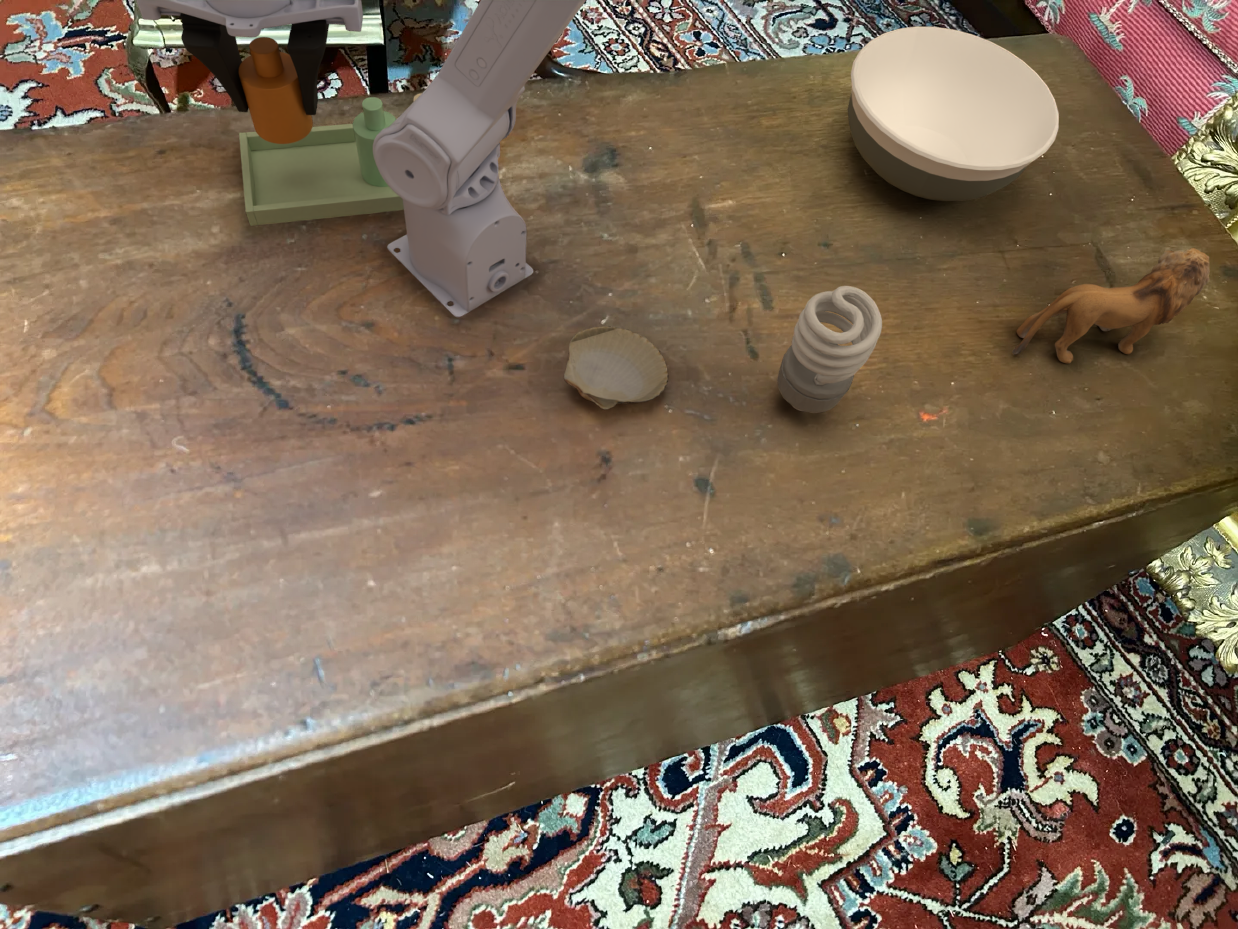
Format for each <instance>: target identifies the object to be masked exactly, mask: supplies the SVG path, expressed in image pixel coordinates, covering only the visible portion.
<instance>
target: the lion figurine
mask: <svg viewBox="0 0 1238 929" xmlns="http://www.w3.org/2000/svg"><path fill="white" fill-rule="evenodd" d="M1157 261H1158V262H1157V264H1156V265H1154V266H1153V267H1152V269H1151V272H1148V273H1147V274H1145V275H1144V276H1143V277H1142V278H1141V279H1140V280H1139V281H1138V282H1137V283H1135V284H1133V285H1130V286H1129V285H1128V286H1114V287H1111V288H1110V287H1109V288H1108V287H1103V286H1100V285H1097V284H1092V283H1081V284H1077V285H1075V286H1072V287H1070V288H1067V289H1066V290H1065V291H1063V292H1062V293H1061V294H1060V295H1059V296H1057V297H1056V298H1055V299H1054V300H1053V301H1052V302H1051V303H1049V304H1048V305H1047V306H1046V307H1044V308H1043V309H1042V310H1040V311H1039V312H1037V313H1034V314H1032V315H1029V316H1028V317H1026V319H1025V320H1024V321H1023V322H1022V323H1021V325H1020V326H1018V328H1016V334H1017V336H1018V337H1019V338H1022V341H1021V342H1019V344H1017V345H1016V346H1014V348H1013V349H1012V353H1011V354H1013V355H1014V356H1016V355H1020V354H1021V353H1022V352H1023V351H1024V350H1026V348H1027V347H1028V345H1029V343H1030V342H1031V340H1032V339H1033V337H1034V336H1035V334H1036V333H1037V332H1038V331H1039V329H1040V328H1042V326H1043V325H1044V324H1046V322H1048V320H1049V319H1052V318H1054V317H1057V316H1060V315H1063V314H1066V316H1065V323H1064V330H1063V334H1062V336H1060V338H1059V339H1057V341H1055V343H1054V347H1055V351H1056V357H1057V359H1058V360H1059V362H1061V363H1063V364H1071V363H1072V361H1074V355H1073V353H1072V351H1071V350H1069V349H1068V348H1069V346H1070V345H1072V344H1074V343H1075V342H1076V341H1077V340H1079V339H1080V338H1081V337H1083V336H1084V335H1086V334H1087V332H1088V331H1089V330H1090V329H1091V327H1092V326H1094V325H1095V326H1098V327H1099V329H1100V330H1101V331H1103V332H1108V331H1111V330H1114V329H1115V330H1116V329H1121V328H1125V327H1126V328H1127V327H1130V326H1131V329H1130V331H1129V332H1128V334H1127V335H1125V336H1124V337H1123V338H1121V340H1120V341H1119V342H1118V345H1117V346H1118V348H1117V349H1118V350H1119V351H1120V352H1121V353H1123V354H1124V355H1130V354H1131V353H1133V351H1134V344H1135V343H1136V342H1138V341H1139V340H1141V339H1142V338H1144V337H1145V336H1146V335H1148V334H1149V332H1150V331H1151V329H1152V328H1153V326H1159V325H1161V324H1163V325H1164V324H1168V323H1170V322H1171V321H1172V320H1173V319H1174V318H1175V317H1176V316H1178V315H1180V314H1181V313H1182V312H1183V311H1184V310H1185V309H1186V308H1187V307H1188V306H1189V305H1190V304H1191V303H1192V301H1193V299H1194V298H1195V297H1196V296H1198V295H1199V294H1200V293H1201V292H1202V291H1203V289H1204V287H1205V286H1206V285H1207V284H1208V283H1209V282H1210V276H1209V275H1210V272H1211V269H1210V266H1211V263H1210V256H1209V255H1207V254H1206V253H1205V252H1203V251H1202V252H1201V251H1200V250H1198V249H1196V248H1195V247H1190V248H1188V249H1185V250H1184V251H1181V250H1176V251H1173V250H1171V249H1170V250H1169V249H1167V250H1164V251H1163V253H1162V254H1161V255H1160V256H1159V258H1158V260H1157Z"/></svg>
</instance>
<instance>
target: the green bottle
mask: <svg viewBox="0 0 1238 929" xmlns="http://www.w3.org/2000/svg"><path fill="white" fill-rule="evenodd" d="M361 107H362V108H361V109H362V112H360V113H359V114H357V115H356V116H355V118H354V119H353V120H352V124H353V131H354V137H355V142H356V148H357V154H358V159H359V165H360V170H361V175H362V177H363V179H364V180H365V181H366V182H367V183H369V184H371V185H373V186H377V187H388V184H387V183H386V182H385V180H384V179H383V177H382V176H381V174H380V172H379V170H378V167H377V165H376V163H375V160H374V156H373V142H374V140H375V138H376V136H377V135H378V134H379V133H380V132H381V131H382V130H383V129H384V128H387V127H389V126H390V125H391V124H392V123H393V122H394V121H395V120H396V119H397V118H396V117H395V115H394V114H392V113H390V112H389V111H386V110H385V109H384V103H383V101H382V100H381V99H380V98H379V97H374V96H369V97H366V98H364V99H363V100H362V102H361Z"/></svg>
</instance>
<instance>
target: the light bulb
mask: <svg viewBox="0 0 1238 929" xmlns="http://www.w3.org/2000/svg"><path fill="white" fill-rule="evenodd" d="M804 306H805V307H804V308H803V309H802V310H801V312H800V313H799V315H798V320H797V321H796V323H795V325H794V328H793V335H792V337H791V345H790V346H789V347H788V348H787V350H786V352H785V353H784V354H783V357H782V360H781V364H780V365H779V366H780V367H779V369H778V373H777V378H776V380H777V388H778V390H779V392H780V394H781V396H782V398H783V399H784V400H785V401H786V402H787V403H788V404H790V405H791V406H792V407H793V408H794V409H796V410H797V411H801V412H805V413H811V414H818V413H824V412H829V411H830V410H832V409H833V408H835V407H836V406H837V405H838V404H839V403H840V402H841V400H842V399H843V398H844V396H845V395H846V394H847V392H848V391H849V390H850V388H851V386H852V384H853V382H854V378H855V374H856V373H857V372H859V370H860V369H861V368H862V367H863V366H864V365H865V364H866V363H867V362H868V361H869V359H870V357H871V355H872V353H873V352H874V350H875V349H876V346H877V343H878V340H879V338H880V336H881V333H882V330H883V319H882V315H881V312H880V309H879V307H878V305H877V303H876V302H875V300H874V299H873V298H872V297H871V296H870V295H869V294H868V293H867V292H865V291H864V290H862V289H860V288H859V287H855V286H852V285H851V286H850V285H842V286H841V285H840V286H838V287H837V288H835V289H834V290H828V291H827V290H826V291H821V292H819V293H816V294H814V295H813V296H811V297H810V298H809V300H807V302H806V304H805V305H804ZM823 323H825V324H829V325H832V326H834V327H836V328H837V329H839V330H841V331H842V332H838V331H834V330H832V329H830V328H829V327H826V325H824V324H823ZM849 343H851V345H845V344H849Z"/></svg>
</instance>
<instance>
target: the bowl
mask: <svg viewBox="0 0 1238 929" xmlns="http://www.w3.org/2000/svg"><path fill="white" fill-rule="evenodd" d="M850 79H851V80H850V81H851V92H850V95H849V100H848V104H847V110H846V111H847V120H848V125H849V130H850V135H851V138H852V140H853V143H854V145H855V148H856V149H857V151H858V153H859V154H860V156H861V157H862V159H863V160H864V161H865V162H866V164H868V165H869V167H870V168H871V169H872V170H873V171H874V172H875V173H876V174H877V175H878V176H879V177H880V178H881V179H883V180H884V181H886V182H887V183H888V184H890V185H891V186H893V187H895V188H897V189H899V190H901V191H903V192H905V193H907V194H910V195H912V196H914V197H918V198H923V199H926V200H932V201H942V202H955V201H956V202H958V201H965V202H966V201H970V200H971V201H972V200H976V199H981V198H983V197H986V196H988V195H991V194H993V193H996V192H997V191H999V190H1001V189H1003V188H1005V187H1008V186H1009V185H1010V184H1011V183H1013V182H1014V181H1016V180H1017V179H1018V178H1020V176H1021V175H1022V173H1024V171H1025V170H1026V168H1027V167H1028V166H1029V165H1030V164H1031V163H1032V162H1034V161H1036V160H1037V159H1038V158H1040V157H1041V156H1042V155H1043V154H1046V153H1047V152H1048V150H1050V148H1051V146H1052V145H1053V144H1054V142H1056V141H1055V140H1056V138H1057V135H1058V132H1059V118H1060V117H1059V116H1060V115H1059V114H1060V112H1059V109H1058V105H1057V102H1056V99H1055V97H1054V95H1053V94H1052V91H1051V90H1050V88H1049V86H1048V85H1047V84H1046V82H1045V81H1044V80H1043V79H1042V77H1041V76H1040V75H1039V73H1037V72H1036V70H1034V69H1033V68H1032V67H1031V66H1029V65H1028V63H1026V62H1025V61H1024V60H1023V59H1021V58H1020V57H1018V56H1016V54H1014V53H1012V52H1011V51H1009V50H1008V49H1006V48H1004V47H1002V46H1000V45H998V44H997V43H994V42H992V41H990V40H988V39H985V38H982V37H980V36H977V35H975V34H973V33H968V32H965V31H960V30H957V29H952V28H945V27H939V26H909V27H902V28H897V29H893V30H891V31H887V32H884V33H882V34H880V35H878V36H876V37H875V38H873V39H871V40H870V41H869V42H868V43H866V44H865V45H864V46H863V47H862V48H861V49H860V50H859V51H858V53H857V55H856V57H855V58H854V60H853V62H852V67H851V71H850Z"/></svg>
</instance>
